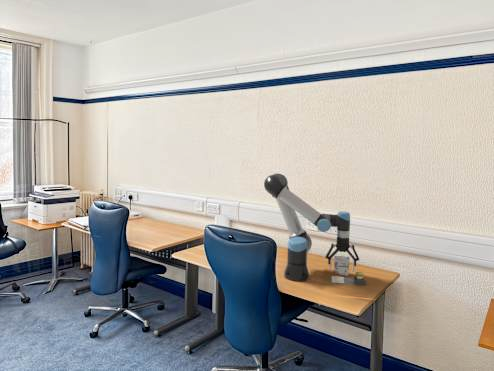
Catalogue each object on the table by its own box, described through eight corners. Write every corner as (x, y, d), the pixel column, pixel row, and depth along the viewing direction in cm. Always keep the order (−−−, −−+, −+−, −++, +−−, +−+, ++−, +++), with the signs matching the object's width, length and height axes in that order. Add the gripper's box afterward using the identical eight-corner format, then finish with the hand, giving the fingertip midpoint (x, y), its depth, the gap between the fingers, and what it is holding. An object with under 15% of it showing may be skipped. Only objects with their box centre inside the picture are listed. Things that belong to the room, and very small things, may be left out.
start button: (355, 283, 218) (356, 273, 217) (355, 280, 222) (355, 271, 221) (363, 284, 217) (364, 274, 216) (362, 281, 221) (363, 272, 220)
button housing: (354, 284, 217) (354, 279, 217) (353, 280, 223) (353, 275, 223) (365, 285, 216) (365, 280, 216) (364, 281, 222) (364, 276, 221)
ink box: (333, 274, 235) (334, 256, 234) (335, 272, 240) (336, 254, 238) (347, 277, 231) (348, 258, 230) (349, 274, 236) (350, 256, 234)
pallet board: (331, 284, 220) (331, 282, 220) (330, 277, 230) (330, 275, 230) (365, 287, 216) (365, 285, 216) (363, 280, 227) (363, 278, 227)
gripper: (322, 237, 231) (321, 270, 234) (364, 239, 227) (363, 273, 229) (322, 234, 239) (321, 266, 241) (363, 236, 234) (362, 269, 236)
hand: (341, 270), depth 235 cm, fingers open, 13 cm apart
